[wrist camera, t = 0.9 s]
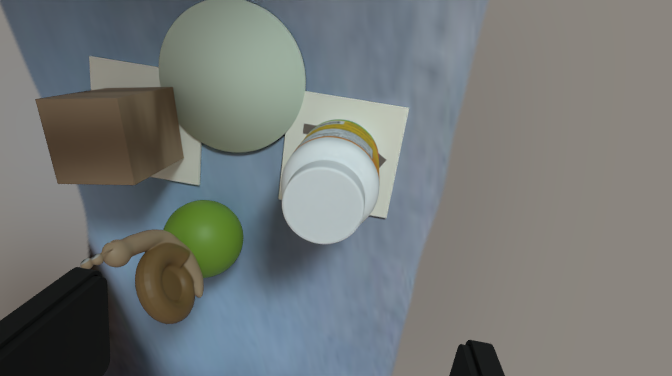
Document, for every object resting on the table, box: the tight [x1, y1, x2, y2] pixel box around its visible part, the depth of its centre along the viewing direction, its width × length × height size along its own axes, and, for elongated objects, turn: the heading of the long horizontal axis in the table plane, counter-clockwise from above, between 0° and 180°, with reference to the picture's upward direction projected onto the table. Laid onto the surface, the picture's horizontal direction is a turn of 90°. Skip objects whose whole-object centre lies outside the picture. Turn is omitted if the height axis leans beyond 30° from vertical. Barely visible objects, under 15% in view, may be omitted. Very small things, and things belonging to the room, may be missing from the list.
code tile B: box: [89, 56, 202, 185], centre depth 29 cm, size 8×8×1 cm
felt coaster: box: [159, 0, 306, 152], centre depth 28 cm, size 10×10×1 cm
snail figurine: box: [81, 200, 243, 324], centre depth 26 cm, size 5×6×12 cm
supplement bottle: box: [281, 119, 380, 244], centre depth 24 cm, size 5×5×10 cm
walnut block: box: [36, 87, 184, 185], centre depth 26 cm, size 5×5×6 cm
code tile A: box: [278, 91, 409, 218], centre depth 29 cm, size 8×8×1 cm
